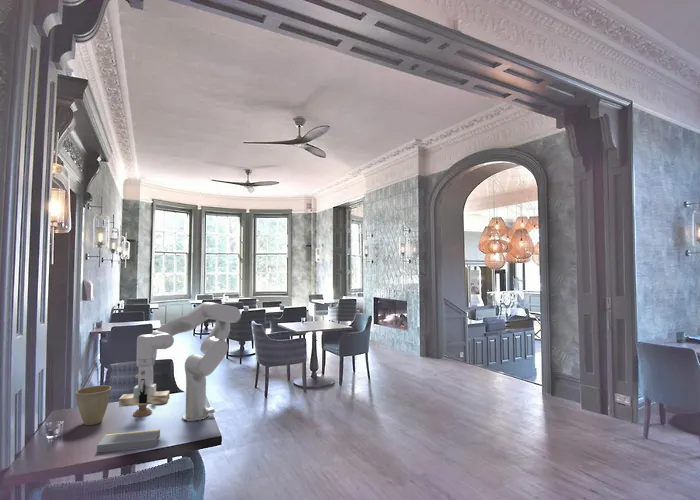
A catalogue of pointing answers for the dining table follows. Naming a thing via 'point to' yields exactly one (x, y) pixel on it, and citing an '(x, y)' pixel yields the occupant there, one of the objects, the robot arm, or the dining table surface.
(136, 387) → the pale green block
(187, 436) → the dining table surface
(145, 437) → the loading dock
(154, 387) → the block
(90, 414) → the plant pot
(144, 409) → the candle holder
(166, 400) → the tan piece
